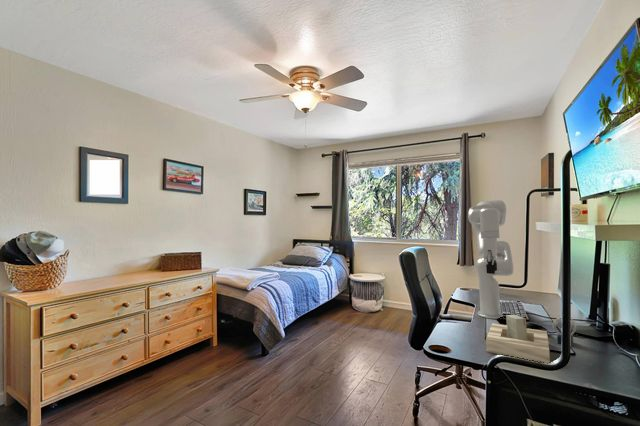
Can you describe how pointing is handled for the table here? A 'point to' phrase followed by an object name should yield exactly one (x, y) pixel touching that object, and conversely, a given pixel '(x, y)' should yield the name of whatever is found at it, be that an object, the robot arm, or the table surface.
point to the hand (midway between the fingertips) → (492, 272)
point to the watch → (560, 333)
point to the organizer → (518, 344)
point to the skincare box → (516, 327)
